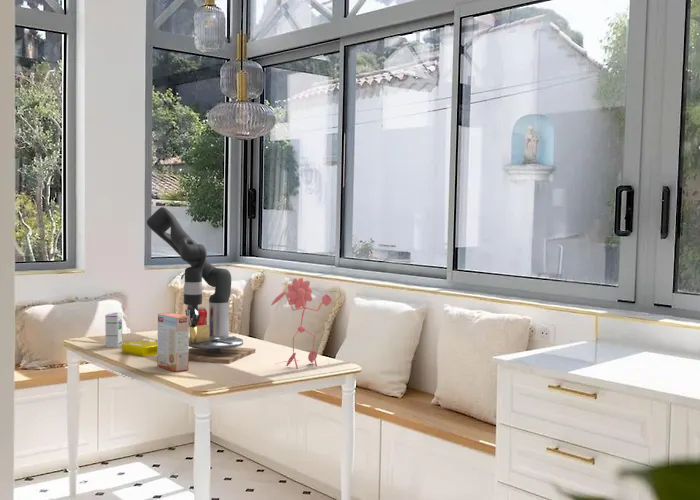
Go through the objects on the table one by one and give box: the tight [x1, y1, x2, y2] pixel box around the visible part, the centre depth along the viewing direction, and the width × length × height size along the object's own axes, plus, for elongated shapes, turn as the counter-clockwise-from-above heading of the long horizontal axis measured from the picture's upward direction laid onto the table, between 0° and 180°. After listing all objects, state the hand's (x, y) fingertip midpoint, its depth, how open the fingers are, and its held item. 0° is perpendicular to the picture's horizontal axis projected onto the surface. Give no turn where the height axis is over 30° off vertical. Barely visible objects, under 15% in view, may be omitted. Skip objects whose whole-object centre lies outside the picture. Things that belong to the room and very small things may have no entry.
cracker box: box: [156, 312, 190, 373], centre depth 297 cm, size 14×6×21 cm, turn 43°
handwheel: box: [189, 324, 244, 349], centre depth 324 cm, size 24×24×8 cm
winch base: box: [188, 346, 256, 364], centre depth 324 cm, size 27×26×5 cm
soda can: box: [196, 306, 208, 326], centre depth 360 cm, size 8×8×15 cm
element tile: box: [121, 338, 158, 358], centre depth 328 cm, size 15×15×5 cm
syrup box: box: [104, 312, 123, 348], centre depth 340 cm, size 6×6×14 cm
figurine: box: [270, 277, 332, 370], centre depth 309 cm, size 15×26×35 cm, turn 127°
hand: (192, 333), depth 320 cm, fingers closed
